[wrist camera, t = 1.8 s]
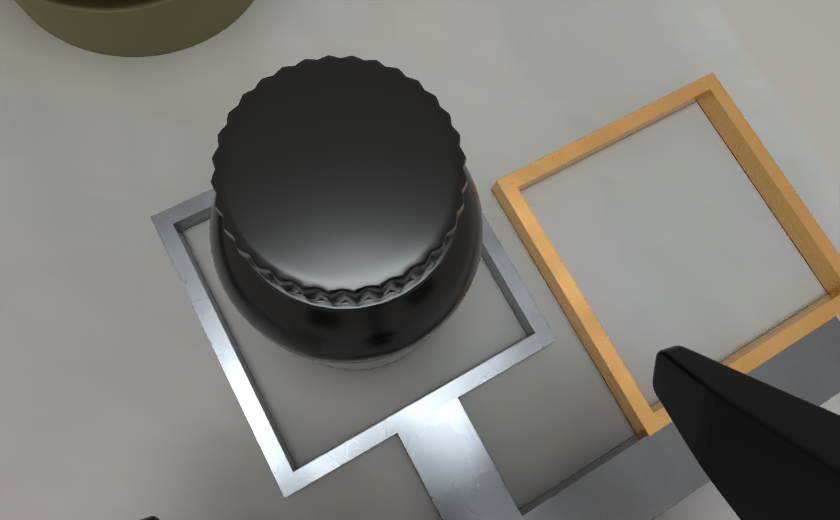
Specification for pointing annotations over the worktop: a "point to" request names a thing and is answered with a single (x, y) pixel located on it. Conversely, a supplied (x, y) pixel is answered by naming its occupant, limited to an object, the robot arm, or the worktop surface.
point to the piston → (134, 23)
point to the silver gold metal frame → (442, 411)
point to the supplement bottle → (343, 212)
